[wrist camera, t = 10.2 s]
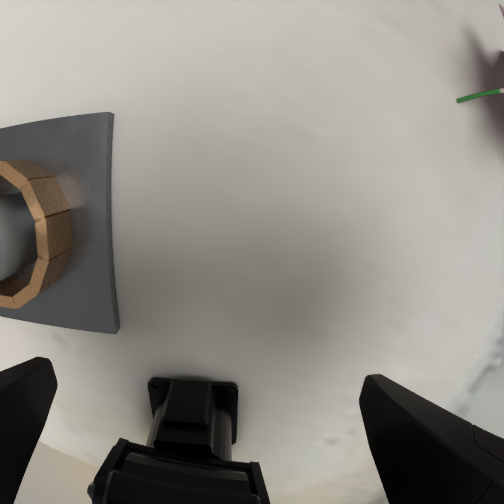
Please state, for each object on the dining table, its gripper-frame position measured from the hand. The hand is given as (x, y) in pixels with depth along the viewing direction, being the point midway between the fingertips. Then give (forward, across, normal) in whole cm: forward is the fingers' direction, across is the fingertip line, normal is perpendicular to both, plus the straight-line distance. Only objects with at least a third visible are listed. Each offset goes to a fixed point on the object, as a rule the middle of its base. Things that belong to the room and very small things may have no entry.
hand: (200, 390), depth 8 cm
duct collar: (+12, +14, -2) cm, 18 cm away
